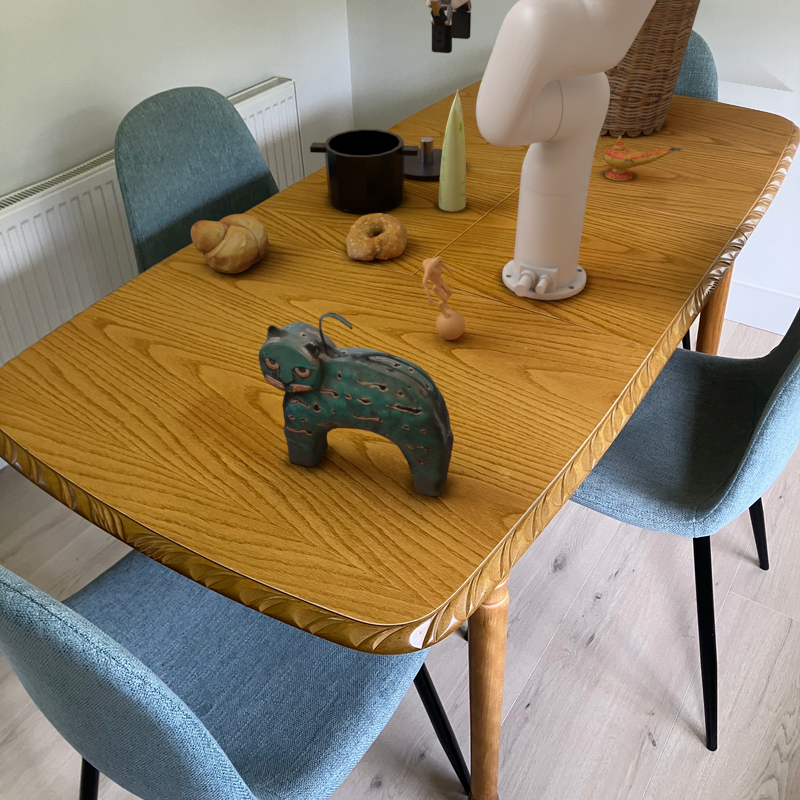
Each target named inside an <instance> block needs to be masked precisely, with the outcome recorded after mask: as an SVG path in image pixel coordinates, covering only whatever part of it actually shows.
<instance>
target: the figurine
mask: <svg viewBox="0 0 800 800" xmlns="http://www.w3.org/2000/svg"><path fill="white" fill-rule="evenodd" d="M421 267H422V268H421V269H422V270H423V272H424V274H423V278H422V286H423V288H424V292H425V294H426V296H427V300H428V301H427V302H428V304H429V307H433V306H435V304H436V303H434V301H435V299H433V298H432V297H431V292H430V289H429V286H428V280H430V283H431V284H432V288H431V290H432V292H433V293H434V294H435V296H437V297H438V299H440V300H439V301H438V303H437V305H438V309H439V311H440V312H441V313H440V314H439V315H438V317H437V318H436V321H435V329H436V332H437V334H438V335H439V336H440V337H441V338H442V339H444V340H447V341H451V340H453V341H454V340H456V339H458V338H460V337H461V336H462V335H463V333H464V332H465V329H466V322H465V318H464V317H463V315H462V314H461V313H459V311H456V310H455V309H454V308H453V307H450V306H449V304H448V303H447V302H448V300H449V298H450V297H451V296H452V294H453V290H452V289H451V288H450V287H449V286H448V285H447V284H446V282H445V280H444V279H443V277H442V274H443V273H442V272H443V269H444V270H445V271H446V272H448V273H449V274H450V276H451V277H452V278H455V276H454V273H453V272H452V271H451V269H450V268H449V267H448V266H447V265H446V264H445V263H444V261H443V257H442V256H440V255H438V256H436V257H431V258H429V257H428V258H427V257H426V258H425V259H424V260H422V263H421ZM443 306H444V307H443ZM445 309H446V310H445Z"/></svg>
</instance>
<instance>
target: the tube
mask: <svg viewBox="0 0 800 800" xmlns="http://www.w3.org/2000/svg"><path fill="white" fill-rule="evenodd" d="M452 101H453V102H452V104H451V107H450V110H449V114H448V118H447V122H446V127H445V131H444V137H443V142H442V149H443V150H442V158H441V170H440V178H439V185H438V203H437V204H438V208H439V209H440V210H443V211H445V212H451V213H452V212H453V213H455V212H460V211H463V210H464V209H465V208H466V205H467V154H466V153H467V150H466V135H465V127H464V126H465V124H464V115H463V108H462V102H461V98H460V94H459V89H458V88H457V89H456V93H455V97H454V99H453V100H452Z"/></svg>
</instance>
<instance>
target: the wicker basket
mask: <svg viewBox="0 0 800 800" xmlns="http://www.w3.org/2000/svg"><path fill="white" fill-rule="evenodd" d="M700 3H701V0H656V2H655V4H654V5H653V7H652V9H651V11H650V12H649V14H648V16H647V18H646V20H645V21H644V23H643V25H642V27H641V29H640V31H639V32H638V34H637V36H636V38H635V40H634V41H633V43H632V45H631V47H630V48H629V50H628V52H627V53H626V55H625V56H624V58H623V59H622V60H621V61H620V62H619V63H618V64H617V65H616V66H615V67H613V68H612V69H609V70H607V71H604V73H605V74H606V76H607V79H608V82H609V87H610V100H609V106H608V111H607V114H606V117H605V120H604V123H603V126H602V129H601V132H600V136H601V137H603V136H604V135H606V134H607V133H608V132H609V134H610V136H611V137H614V138H618V137H619V136H621V137H623V136H624V135H625V133H626V134H627V136H628V137H630V138H635V137H637V136H639V135H640V134H641V132H642V134H643V135H645V136H648V135H650V134H652V133H653V132H654V131H655V132H659V131H660V130H661V128H662V127H664V125H665V121H666V119H667V115H668V111H669V108H670V105H671V102H672V99H673V96H674V92H675V88H676V85H677V81H678V78H679V75H680V71H681V68H682V64H683V61H684V58H685V54H686V51H687V47H688V44H689V41H690V37H691V34H692V30H693V26H694V23H695V20H696V17H697V14H698V9H699V7H700Z"/></svg>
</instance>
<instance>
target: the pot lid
mask: <svg viewBox="0 0 800 800" xmlns="http://www.w3.org/2000/svg"><path fill="white" fill-rule="evenodd" d="M419 140H420V143H419V152H418V155H417V156H404V177H406V178H412V179H419V180H421V179H422V180H433V179H434V180H435V179H440V170H441V158H442V150H443V148H435V147H434V146H435V143H434V141H435V139H434V138H433V137H431V136H423V137H421V138H420V139H419Z"/></svg>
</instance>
